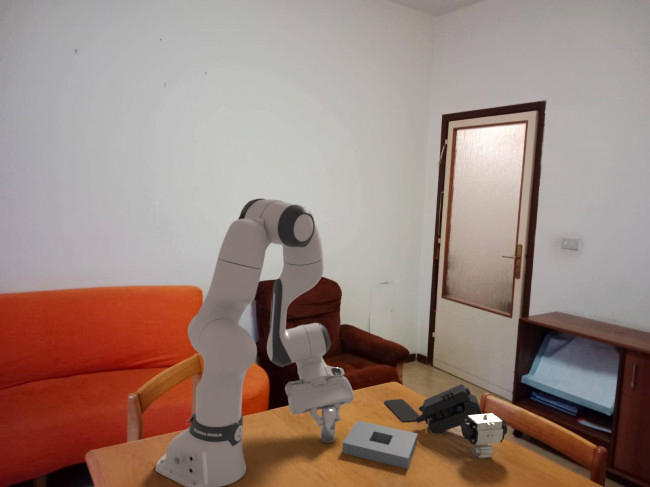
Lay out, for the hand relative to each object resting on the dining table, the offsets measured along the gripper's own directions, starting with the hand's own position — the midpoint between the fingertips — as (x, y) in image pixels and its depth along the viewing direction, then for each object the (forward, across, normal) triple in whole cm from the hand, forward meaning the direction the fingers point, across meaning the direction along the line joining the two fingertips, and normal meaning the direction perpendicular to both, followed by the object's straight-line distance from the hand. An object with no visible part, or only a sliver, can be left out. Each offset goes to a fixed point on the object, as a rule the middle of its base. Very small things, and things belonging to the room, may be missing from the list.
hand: (329, 422), depth 136 cm
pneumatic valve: (+22, +35, -14) cm, 43 cm away
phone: (0, +32, +9) cm, 33 cm away
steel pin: (+3, 0, +4) cm, 5 cm away
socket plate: (+10, +11, -3) cm, 16 cm away
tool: (+12, +36, -4) cm, 38 cm away
